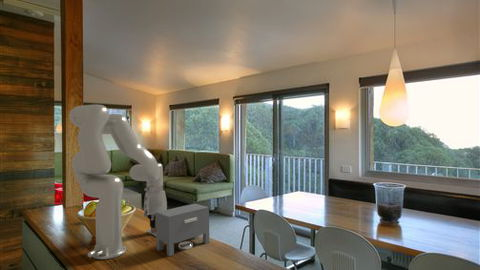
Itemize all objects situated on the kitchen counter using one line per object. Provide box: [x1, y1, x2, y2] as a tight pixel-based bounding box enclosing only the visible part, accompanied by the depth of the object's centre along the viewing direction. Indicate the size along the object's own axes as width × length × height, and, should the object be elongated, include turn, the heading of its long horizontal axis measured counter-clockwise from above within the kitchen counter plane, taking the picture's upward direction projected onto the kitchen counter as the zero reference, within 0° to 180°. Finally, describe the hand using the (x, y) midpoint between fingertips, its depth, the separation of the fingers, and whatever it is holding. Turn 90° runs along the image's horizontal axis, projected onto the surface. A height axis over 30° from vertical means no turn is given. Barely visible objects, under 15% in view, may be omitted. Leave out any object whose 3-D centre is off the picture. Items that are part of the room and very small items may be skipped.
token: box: [178, 240, 194, 251], centre depth 127 cm, size 6×6×2 cm
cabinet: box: [155, 203, 210, 257], centre depth 127 cm, size 20×11×16 cm, turn 135°
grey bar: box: [145, 214, 183, 245], centre depth 139 cm, size 5×23×9 cm, turn 45°
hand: (155, 226), depth 144 cm, fingers closed on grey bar, 2 cm apart
